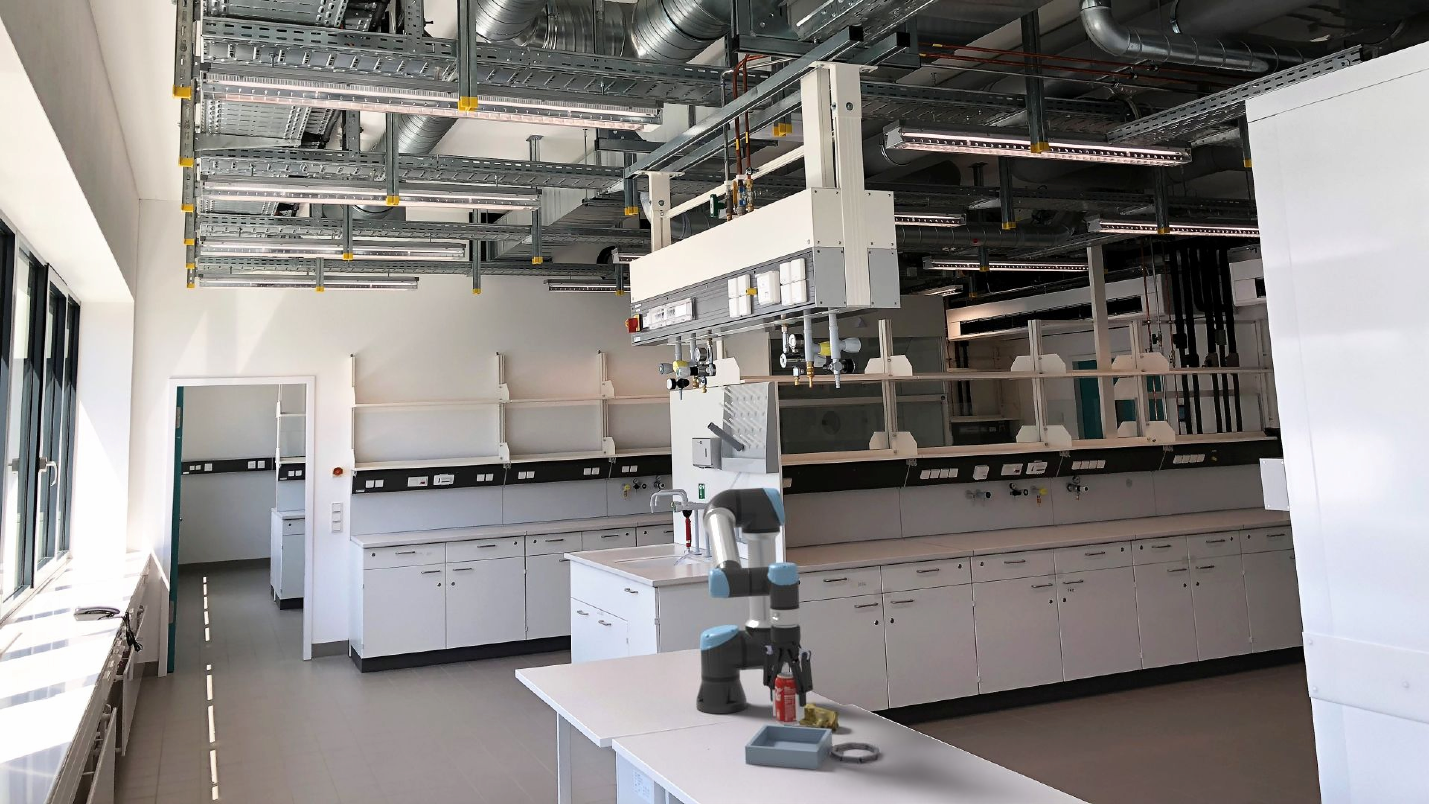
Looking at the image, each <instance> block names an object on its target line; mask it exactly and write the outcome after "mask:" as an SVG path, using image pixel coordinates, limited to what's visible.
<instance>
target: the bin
mask: <svg viewBox="0 0 1429 804" xmlns="http://www.w3.org/2000/svg"><path fill="white" fill-rule="evenodd" d="M832 746H833V733H832V729H825V728H820V727H807V726H795V725H786V726H784V725H778V724H777V725H776V724H763V725H762V727H761V728H760V729H759V730H758V731H757V732H756V733H755V735H754V736H753V737H752V738H751V739H750V740H749V742H748V743H747V744H746V745H745V746H744V749H745V750H744V753H745V755H744V756H745V764H751V765H759V766H760V765H761V766H774V767H785V768H787V767H788V768H797V769H798V768H799V769H811V770H818V769H819V768H820V766H821V765H822V763H823V761H824V759H825V758H826V756H827V754H828V753H829V751H831V749H832Z"/></svg>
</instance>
